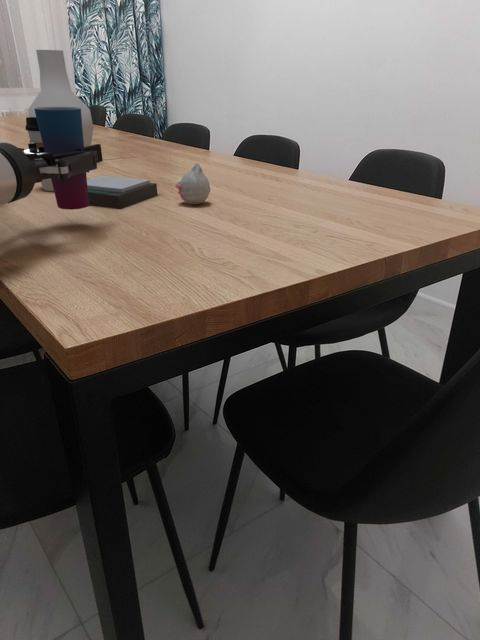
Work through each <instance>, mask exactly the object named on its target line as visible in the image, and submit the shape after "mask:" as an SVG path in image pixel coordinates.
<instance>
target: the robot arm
mask: <svg viewBox="0 0 480 640" xmlns="http://www.w3.org/2000/svg"><path fill="white" fill-rule="evenodd" d="M101 145H102V144H101V143H95V144H91V146H87V147H83V148H79V149H77V151H75V152H68V153H62V154H55V155H52V154H51V153H45V151H44V147H43V146H41V147H38V148H39V150H37V146H36V143H30V142H28V143H27V146H28V148H27V149H25V148H24V147H20V146H19V147H18V146H16V145H14V144H12V143H10V142H6V141H0V207H2V206H5V205H7V204H10V203H14V202H16V201H20V200H23V199H24V198H26V197H28V196H29V195H30V194H31V193H32V191H33V190H34V187H35V185H36V184H38V183H41V182H42V180H44V179H49V178H54V177H56V174H58V177H59V178H60V179H61V180H66V179H69V178H70V177H71V176H74V175H78V174H81V173H84V172H86V173H90V172H91V171H94V170H97V169H98V163H102V162H103V152H102V146H101Z"/></svg>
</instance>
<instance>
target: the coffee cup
mask: <svg viewBox="0 0 480 640" xmlns="http://www.w3.org/2000/svg"><path fill="white" fill-rule="evenodd" d="M24 127H25V131H27V135H28V138H29V143H36V146H37V150H39V148H38V147H41V146H43V143H42V139H41V135H40V131H39V127H38V122H37V118H36V117H29V116H27V117H25V125H24ZM40 183H41V184H40V185H41V187H42V190H43V191H47V192H54V189H53V185H52V180H51V178H49V179H44V180H42V182H40Z"/></svg>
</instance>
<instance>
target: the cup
mask: <svg viewBox="0 0 480 640" xmlns="http://www.w3.org/2000/svg"><path fill="white" fill-rule="evenodd" d="M34 110H35V114H36V118H37V122H38V127H39V131H40V135H41V139H42V143H43V147H44V151H45V153H51V154H52V155H55V154H62V153H68V152H75V151H77V149H79V148H83V147H84V140H83V128H82V116H81V108H78V107H38V108H34ZM51 180H52V185H53V189H54V191H53V193H54V196H55V201H56V204H57V208H58V209H60V210H71V211H72V210H81V209H86V208H88V207H89V206H90V205H89V200H88V188H87V180H88V177H87V172H84V173H81V174H78V175H74V176H71V177H70V178H69V179H66V180H61V179H60V178H59V177H58V174H56V177H54V178H51Z"/></svg>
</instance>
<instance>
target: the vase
mask: <svg viewBox="0 0 480 640" xmlns="http://www.w3.org/2000/svg"><path fill="white" fill-rule="evenodd" d="M35 51H36V57H37V62H38V69H39V86H40V88H39V89H40V91H39V92H38V94H37V95H36V97H35V98H34V100H33V101H32V103H31V104H30V105H29V107H28V109H27V113H28V114H27V115H28V117H36V114H35V110H34V108H38V107H78V108H81V116H82V128H83V140H84V147H87V146H91V145H92V142H93V134H94V123H93V118H92V114H91V113H92V112H91V109H90V108H89V107H88V106H87V105H86V104H85V103H84V102H83V101H82V100H81V98H79V96H77V95H76V94H75V93H74V92H73V91H72V87H71V84H70V80H69V76H68V72H67V68H66V60H65V55H64V50H59V49H35Z"/></svg>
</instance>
